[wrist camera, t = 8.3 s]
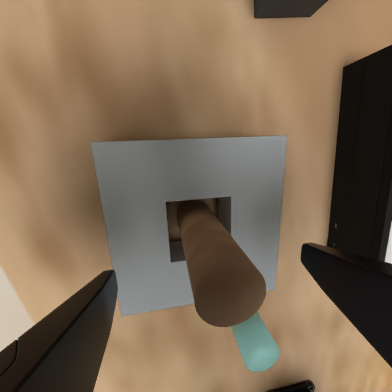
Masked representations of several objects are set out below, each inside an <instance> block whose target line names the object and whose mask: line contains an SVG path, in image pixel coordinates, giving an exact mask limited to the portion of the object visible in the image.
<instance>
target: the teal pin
mask: <svg viewBox="0 0 392 392" xmlns="http://www.w3.org/2000/svg"><path fill="white" fill-rule="evenodd" d="M231 329H232V331H233V334H234V337H235V339H236V342H237V344H238V347H239V350H240V352H241V355H242V357H243V360H244V363H245V365H246V367H247V369H249V370H250V371H253V372H261V371H264V370H267V369H269V368H270V367H272V366H273V365H274V364H275V363H276V361H277V360H278V358H279V354H280V351H279V348H278V346H277V345H276V343H275V341H274V339H273V338H272V336H271V334H270V333H269V331H268V329H267V327H266V326H265V324H264V322H263V321H262V319H261V317H260V315H259V314H258V312H256V313H255V314H254V315H253V316H251V317H250V318H249V319H247V320H246V321H244V322H242V323H240V324H237V325H234V326H231Z"/></svg>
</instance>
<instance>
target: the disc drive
mask: <svg viewBox="0 0 392 392" xmlns="http://www.w3.org/2000/svg"><path fill="white" fill-rule="evenodd" d="M327 247H330V248H334V249H338V250H341V251H345V252H349V253H353V254H357V255H360V256H364V257H368V258H372V259H376V260H380V261H383V262H387V263H391V264H392V45H390V46H388V47H386V48H384V49H381V50H379V51H377V52H375V53H373V54H371V55H369V56H367V57H364V58H362V59H360V60H358V61H356V62H354V63H352V64H349V65H347V66H345V67H343V78H342V89H341V100H340V112H339V123H338V134H337V145H336V156H335V167H334V178H333V189H332V201H331V212H330V223H329V234H328V245H327Z"/></svg>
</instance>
